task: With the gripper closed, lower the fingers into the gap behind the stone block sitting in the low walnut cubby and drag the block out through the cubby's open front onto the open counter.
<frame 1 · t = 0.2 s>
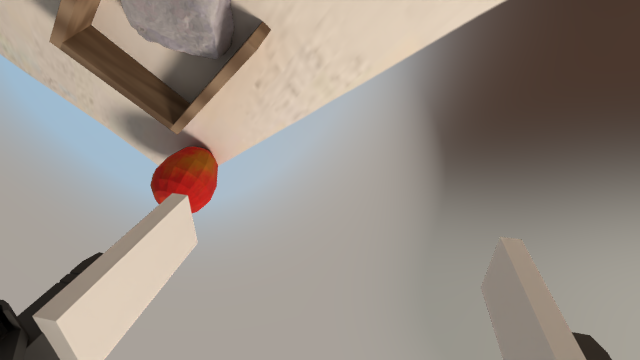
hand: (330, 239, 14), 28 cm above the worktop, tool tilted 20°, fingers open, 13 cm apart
stone block: (185, 3, 37), on the worktop
cubby: (168, 28, 39), on the worktop
apple: (203, 154, 55), on the worktop
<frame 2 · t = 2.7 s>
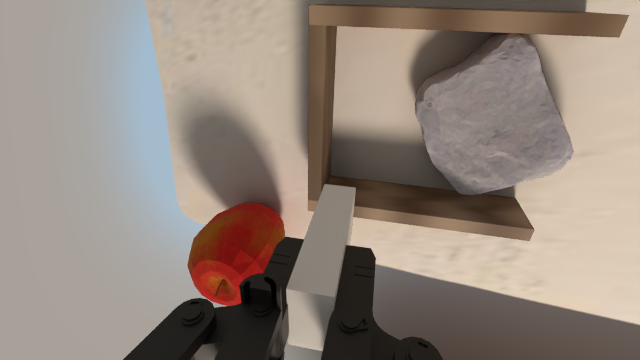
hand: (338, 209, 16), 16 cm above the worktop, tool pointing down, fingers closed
stone block: (477, 118, 29), on the worktop
cubby: (421, 115, 29), on the worktop
apple: (262, 216, 39), on the worktop
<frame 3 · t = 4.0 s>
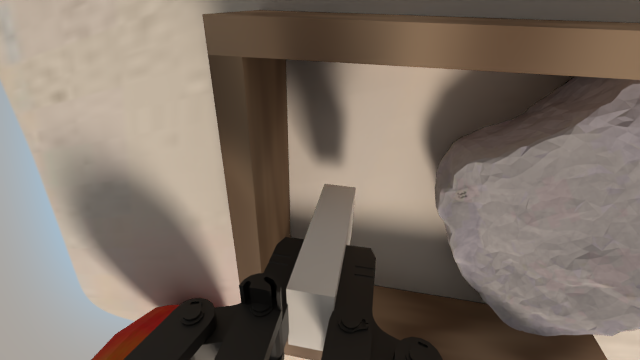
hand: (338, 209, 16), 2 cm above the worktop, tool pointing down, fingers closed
stone block: (539, 203, 17), on the worktop
cubby: (433, 195, 17), on the worktop
apple: (200, 313, 27), on the worktop
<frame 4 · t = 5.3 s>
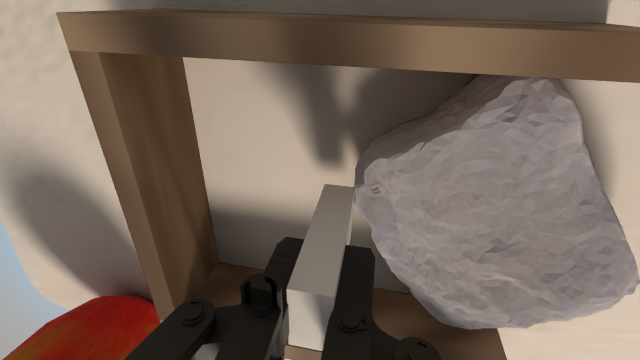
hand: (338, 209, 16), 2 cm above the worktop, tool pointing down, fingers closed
stone block: (464, 199, 17), on the worktop
cubby: (335, 186, 18), on the worktop
apple: (142, 305, 28), on the worktop
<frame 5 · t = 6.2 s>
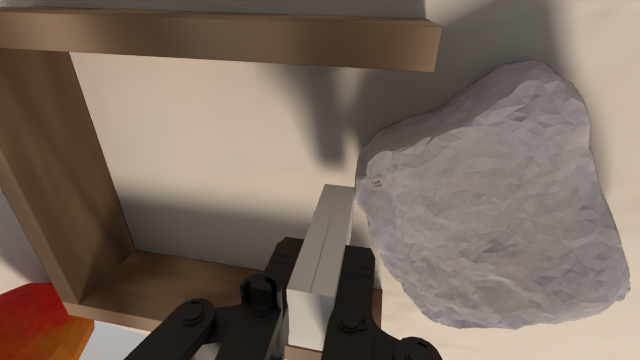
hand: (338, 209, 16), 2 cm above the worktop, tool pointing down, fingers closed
stone block: (462, 198, 17), on the worktop, touching gripper
cubby: (224, 174, 19), on the worktop
apple: (75, 293, 29), on the worktop
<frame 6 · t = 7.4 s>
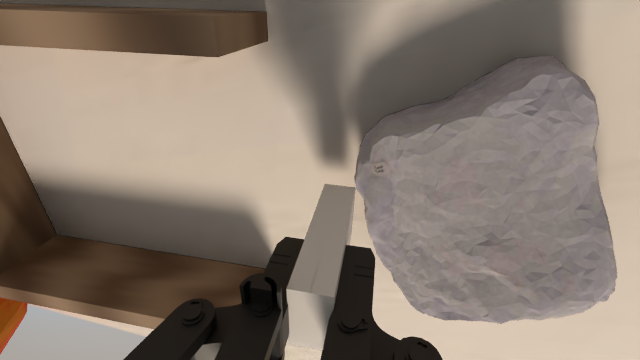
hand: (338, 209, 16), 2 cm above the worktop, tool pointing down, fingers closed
stone block: (459, 192, 17), on the worktop
cubby: (121, 160, 20), on the worktop
apple: (12, 278, 30), on the worktop
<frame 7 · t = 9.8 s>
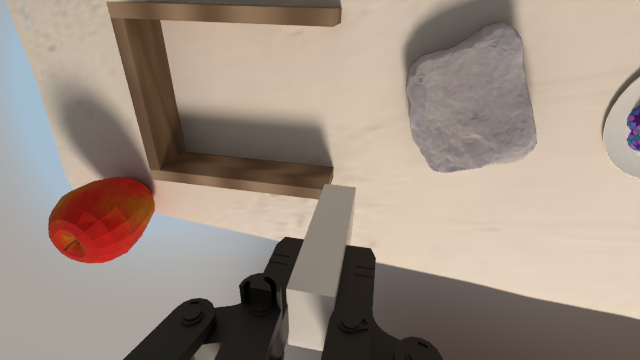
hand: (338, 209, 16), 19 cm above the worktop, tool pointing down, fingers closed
stone block: (459, 103, 31), on the worktop
cubby: (242, 96, 34), on the worktop
apple: (140, 191, 43), on the worktop
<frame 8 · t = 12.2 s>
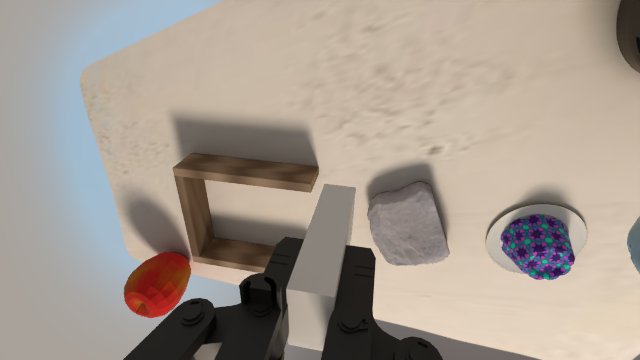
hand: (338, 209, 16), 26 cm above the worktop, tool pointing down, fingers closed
stone block: (404, 219, 47), on the worktop
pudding: (531, 237, 45), on the worktop
cubby: (255, 208, 51), on the worktop
apple: (179, 258, 60), on the worktop
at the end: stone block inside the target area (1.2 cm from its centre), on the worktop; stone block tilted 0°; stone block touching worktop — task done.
